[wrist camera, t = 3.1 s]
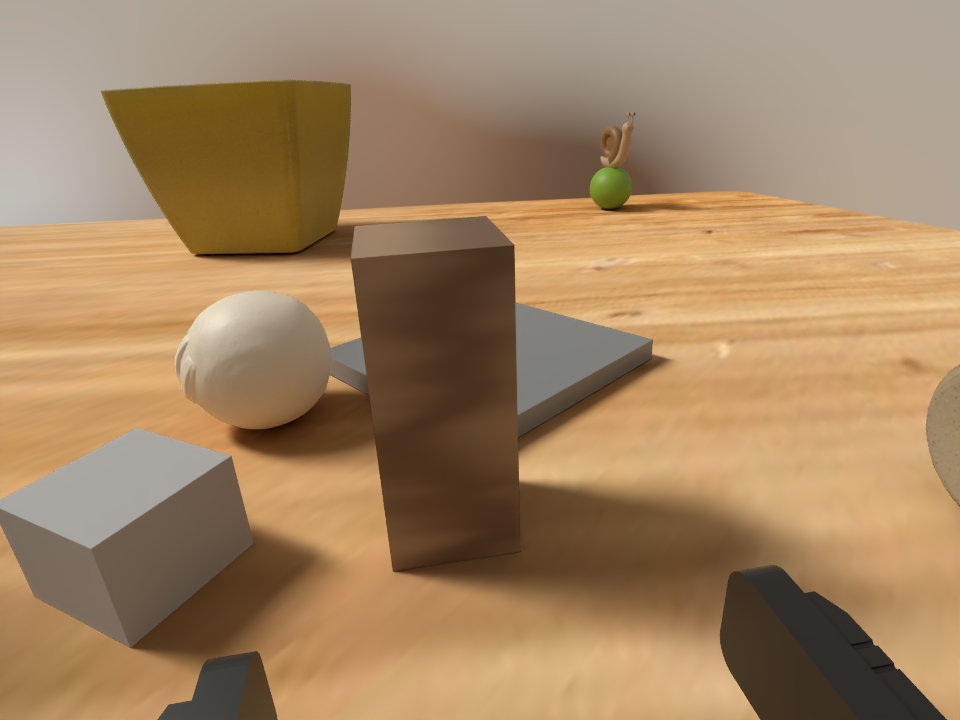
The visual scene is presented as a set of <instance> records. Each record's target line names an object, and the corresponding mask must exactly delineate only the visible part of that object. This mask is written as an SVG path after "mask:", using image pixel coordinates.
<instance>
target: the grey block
mask: <svg viewBox="0 0 960 720" xmlns="http://www.w3.org/2000/svg"><path fill="white" fill-rule="evenodd" d="M0 524H1V527H2V529H3V531H4V533H5V535H6V537H7V539H8V541H9V543H10V546H11V548H12V550H13V552H14V554H15V556H16V558H17V560H18V563H19V565H20V567H21V569H22V571H23V573H24V575H25V577H26V579H27V582H28V584H29V586H30V588H31V590H32V592H33V594H34V596H35V597H36V598H38V599H40V600H42V601H43V602H45V603H47V604H49V605H51V606H53V607H55V608H56V609H58V610H60V611H62V612H64V613H66V614H68V615H70V616H71V617H73V618H75V619H77V620H79V621H81V622H83V623H85V624H86V625H88V626H90V627H92V628H94V629H96V630H98V631H100V632H101V633H103V634H105V635H107V636H109V637H111V638H113V639H115V640H116V641H118V642H120V643H122V644H124V645H126V646H128V647H130V648H131V647H132V646H134V645H135V644H136V643H137V642H138V641H140V640H141V639H142V638H143V637H144V636H145V635H147V634H148V633H149V632H150V631H151V630H152V629H154V628H155V627H156V626H157V625H158V624H160V623H161V622H162V621H163V620H164V619H165V618H167V617H168V616H169V615H170V614H171V613H172V612H174V611H175V610H176V609H177V608H178V607H180V606H181V605H182V604H183V603H184V602H185V601H187V600H188V599H189V598H190V597H191V596H192V595H194V594H195V593H196V592H197V591H198V590H200V589H201V588H202V587H203V586H204V585H205V584H207V583H208V582H209V581H210V580H211V579H212V578H214V577H215V576H216V575H217V574H218V573H220V572H221V571H222V570H223V569H224V568H225V567H227V566H228V565H229V564H230V563H231V562H232V561H234V560H235V559H236V558H237V557H238V556H240V555H241V554H242V553H243V552H244V551H245V550H247V549H248V548H249V547H250V546H251V545H252V544H254V543H253V539H252V535H251V531H250V527H249V523H248V519H247V515H246V511H245V507H244V504H243V500H242V496H241V492H240V488H239V484H238V480H237V476H236V472H235V468H234V465H233V461H232V457H231V455H227V454H224V453H220V452H217V451H213V450H210V449H207V448H203V447H200V446H196V445H193V444H190V443H186V442H183V441H179V440H176V439H173V438H169V437H166V436H162V435H159V434H155V433H152V432H149V431H145V430H142V429H138V428H135V429H134V430H132V431H130V432H128V433H126V434H124V435H122V436H120V437H118V438H116V439H115V440H113V441H111V442H109V443H107V444H105V445H103V446H101V447H99V448H98V449H96V450H94V451H92V452H90V453H88V454H86V455H84V456H82V457H80V458H79V459H77V460H75V461H73V462H71V463H69V464H67V465H65V466H63V467H61V468H60V469H58V470H56V471H54V472H52V473H50V474H48V475H46V476H44V477H43V478H41V479H39V480H37V481H35V482H33V483H31V484H29V485H27V486H25V487H24V488H22V489H20V490H18V491H16V492H14V493H12V494H10V495H8V496H7V497H5V498H3V499H1V500H0Z"/></svg>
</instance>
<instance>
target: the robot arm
mask: <svg viewBox="0 0 960 720" xmlns="http://www.w3.org/2000/svg"><path fill="white" fill-rule="evenodd" d="M720 643H721V649H722V653H723V656H724V659H725V662H726V664H727V666H728V668H729V670H730V672H731V674H732V675H733V677H734V679H735V680H736V682H737V683H738V685H739V686H740V688H741V690H742V691H743V693H744V694H745V696H746V698H747V699H748V701H749V702H750V704H751V705H752V707H753V709H754V710H755V712H756V713H757V715H758V717H759V718H760V720H947V719H946V718H945V717H944V716H943V715H942V714H941V713H940V712H939V711H938V710H937V709H936V708H935V706H934V705H933V704H932V703H931V702H930V701H929V700H928V699H927V698H926V697H925V696H924V695H923V694H922V693H921V691H920V690H919V689H918V688H917V687H916V686H915V685H914V684H913V683H912V682H911V681H910V680H909V679H908V678H907V676H906V675H905V674H904V673H903V672H902V671H901V670H900V669H896V668H895V666H894V663H893V661H892V660H891V659H890V658H889V657H888V656H887V655H886V654H885V653H884V652H883V651H882V650H881V649H880V648H879V646H875V645H874V644H873V640H872V639H871V638H870V637H869V636H868V635H867V634H866V633H865V631H864V630H863V629H862V628H861V627H860V626H859V625H858V624H857V623H856V622H855V621H854V620H853V619H852V618H851V616H850V615H849V614H848V613H847V612H845V611H844V610H842V609H841V608H839V607H838V606H836V605H834V604H833V603H831V602H830V601H828V600H827V599H825V598H824V597H822V596H821V595H819V594H818V593H816V592H815V591H814V592H808V593H804V592H803V591H802V590H801V589H800V588H799V586H798V585H797V584H796V583H795V582H794V581H793V580H792V579H791V577H790V576H789V575H788V574H787V573H786V572H785V571H784V570H783V569H782V568H780V567H778V566H776V565H770V566H764V567H759V568H753V569H747V570H741V571H735V572H733V573H731V575H730V577H729V580H728V586H727V592H726V598H725V604H724V611H723V617H722V623H721V630H720ZM158 720H278V719H277V714H276V710H275V706H274V703H273V699H272V695H271V692H270V688H269V685H268V681H267V677H266V674H265V670H264V667H263V663H262V660H261V657H260V654H259V653H258V652H257V651H255V652H249V653H243V654H237V655H231V656H226V657H220V658H214V659H209V660H207V661H206V662H205V663H204V665H203V667H202V669H201V672H200V675H199V678H198V682H197V685H196V688H195V692H194V695H193V698H192V701H186V702H181V703H175V704H170V705H168V706H167V708H166V709H165V710H164V712H163V713H162V714H161V716H160V717H159V719H158Z"/></svg>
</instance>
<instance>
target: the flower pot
mask: <svg viewBox="0 0 960 720" xmlns="http://www.w3.org/2000/svg"><path fill="white" fill-rule="evenodd" d="M101 93H102V96H103V98H104V101H105V104H106V106H107V108H108V110H109V113H110V115H111V117H112V120H113V122H114V124H115V126H116V128H117V130H118V132H119V134H120V136H121V138H122V141H123V142H124V145H125V147H126V149H127V151H128V153H129V154H130V157H131V158H132V160H133V162H134V164H135V166H136V168H137V170H138V172H139V173H140V175H141V177H142V178H143V180H144V182H145V184H146V186H147V187H148V189H149V191H150V192H151V194H152V196H153V198H154V199H155V201H156V202H157V204H158V206H159V207H160V209H161V210H162V212H163V213H164V215H165V216H166V218H167V219H168V221H169V223H170V224H171V226H172V227H173V229H174V230H175V231H176V233H177V234H178V236H179V237H180V239H181V240H182V241H183V243H184V244H185V245H186V247H187V248H188V249H189V251H190V252H191V253H193V254H233V253H289V252H297V251H301V250H302V249H304V248H306V247H308V246H309V245H311V244H313V243H314V242H316V241H318V240H319V239H321V238H323V237H324V236H326V235H328V234H329V233H331V232H333V231H334V230H336V227H337V222H338V218H339V214H340V208H341V203H342V197H343V190H344V184H345V177H346V168H347V160H348V148H349V136H350V112H351V111H350V110H351V85H350V84H345V83H336V82H335V83H334V82H322V81H302V80H301V81H300V80H297V81H296V80H271V81H253V82H234V83H212V84H195V85H176V86H160V87H146V88H130V89H115V90H102V91H101Z"/></svg>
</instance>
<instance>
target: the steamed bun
mask: <svg viewBox="0 0 960 720" xmlns="http://www.w3.org/2000/svg"><path fill="white" fill-rule="evenodd" d="M174 362H175V370H176V375H177V377H178V379H179V381H180V383H181V389H182V391H183V393H184V395H185V396H186V398H187V399H189V400H191V401H193V402H194V403H197V404H198V405H200V406H201V407H202V408H203V409H204V410H206V411H207V412H208V413H210V414H211V415H212V416H214V417H216V418H217V419H219V420H221V421H223V422H225V423H228V424H230V425H233V426H236V427H240V428H246V429H267V428H273V427H276V426H280V425H283V424H286V423H288V422H290V421H293V420H295V419H296V418H298V417H300V416H302V415H303V414H305V413H306V412H307V411H309V410H310V409H311V408H312V407H313V406H314V405H315V404H316V403H317V401H318V400H319V399H320V398H321V396H322V395H323V393H324V391H325V389H326V387H327V383H328V379H329V376H330V372H331V352H330V346H329V342H328V338H327V335H326V333H325V330H324V328H323V326H322V324H321V323H320V321H319V319H318V318H317V317H316V316H315V314H314V313H313V312H312V311H311V310H310V309H309V308H308V307H307V306H306V305H305V304H303V303H302V302H300V301H299V300H297V299H295V298H293V297H290V296H288V295H284V294H281V293H277V292H270V291H248V292H242V293H238V294H235V295H231V296H228V297H226V298H223V299H221V300H219V301H217V302H216V303H214V304H213V305H211V306H209V307H208V308H207V309H205V310H204V311H203V312H202V313H201V314H200V315H199V316H198V317H197V318H196V320H195V321H194V323H193V324H192V326H191V328H190V329H189V330H188V332H187V334H186V336H185V337H184V338H183V340H182V341H181V343H180V345H179V348H178V350H177V353H176V356H175V361H174Z"/></svg>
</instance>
